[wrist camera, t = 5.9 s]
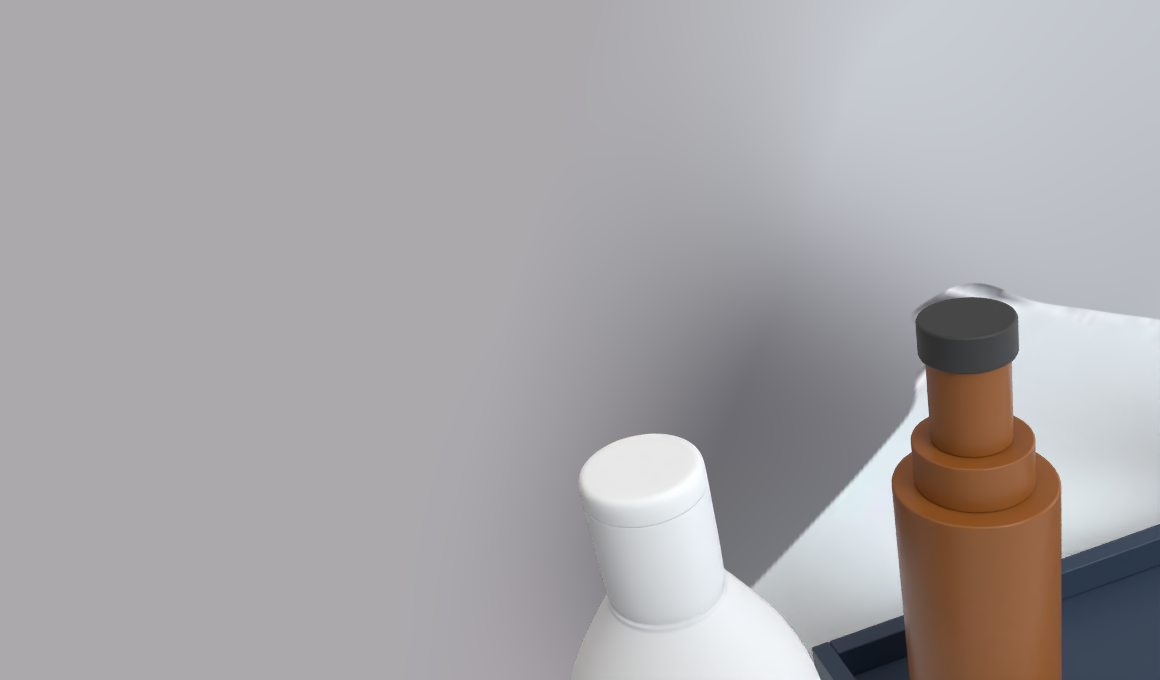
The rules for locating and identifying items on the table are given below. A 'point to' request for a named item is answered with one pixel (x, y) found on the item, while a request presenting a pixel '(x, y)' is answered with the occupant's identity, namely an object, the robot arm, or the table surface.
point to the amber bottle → (977, 511)
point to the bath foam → (671, 577)
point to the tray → (1089, 621)
